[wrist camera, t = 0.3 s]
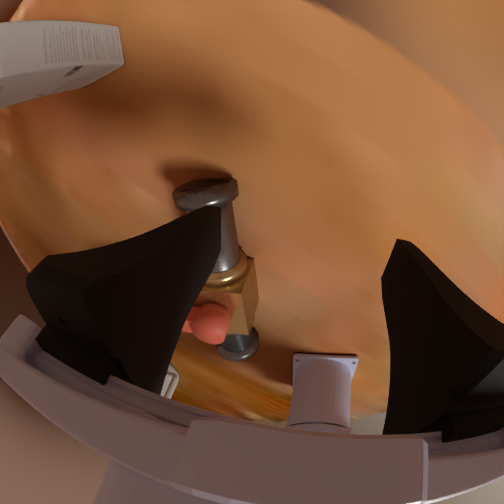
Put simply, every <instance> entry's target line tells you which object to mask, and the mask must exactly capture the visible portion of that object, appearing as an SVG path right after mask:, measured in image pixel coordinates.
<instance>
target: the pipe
mask: <svg viewBox="0 0 504 504" xmlns="http://www.w3.org/2000/svg"><path fill="white" fill-rule="evenodd" d="M238 194H239V191H238V184H237V180H236V179H234V178H213V179H198V180H193V181H190V182H187V183H185V184H183V185H181V186H179V187H178V188H176V189H175V190H174V192H173V199H174V203H175V206H176V208H178V209H180V210H183V211H185V215H186V214H188V213H190V212H192V211H194V210H196V209H198V208H201V207H203V206H206V205H209V206H216V207H221V251H220V254H219V257H218V259H217V262H216V264H215V267H214V269H213V271H212V273H222V272H226V271H228V270H231V269H232V268H234V267H235V266H236V265H237V264H238V263H239V261H240V252H239V245H238V239H237V232H236V226H235V219H234V213H233V206H232V201H233V200H234V199H235V198H236V197H237V196H238ZM259 344H260V341H259V335H258V332H257V331H256V330H255V329H254V328H252V326H251V328H250V332H249V335H244V334H232V335H226V337H225V339H224V341H223V342H222V343H220V344H216V347H217V350H218V352H219V354H220V355H221V356H222V357H223V358H225V359H227V360H230V361H242V360H246V359H248V358H250V357H252V356H253V355H254V354H255V353H256V352H257V350H258V348H259Z"/></svg>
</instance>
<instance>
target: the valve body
mask: <svg viewBox="0 0 504 504" xmlns="http://www.w3.org/2000/svg"><path fill="white" fill-rule="evenodd" d="M239 252H240V261H239V263H238V264H237V265H236V266H235V267H234V268H232V269H231V270H228V271H226V272H222V273H211V274H210V276H209V278H208V280H207V281H206V283H205V285H204V287H203V289H202V290H201V292H200V294H199V296H198V297H197V299H196V301H195V303H194V304H193V306H192V307H200V308H201V306H203V305H205V304H215V305H219V306H221V307H223V308H224V309H226V310H227V311H228V312H229V314H230V315H231V323H230V326H229V328H228V331H227V334H226V335H232V334H244V335H249V332H250V328H251V325H252V323H253V321H254V318H255V311H256V308H257V304H258V301H259V296H258V288H257V279H256V271H255V263H254V259H253V258H246V254H245V252H244V251H243V250H242V249H240V248H239Z"/></svg>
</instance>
